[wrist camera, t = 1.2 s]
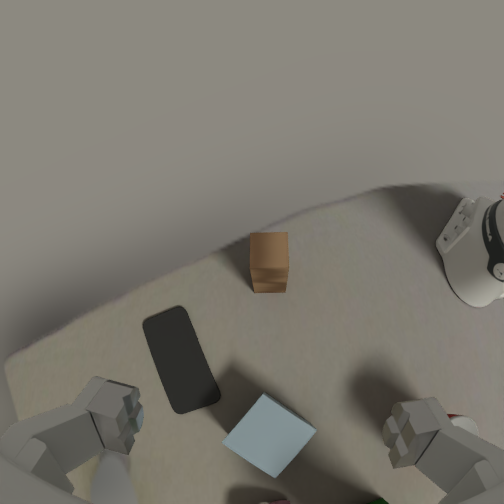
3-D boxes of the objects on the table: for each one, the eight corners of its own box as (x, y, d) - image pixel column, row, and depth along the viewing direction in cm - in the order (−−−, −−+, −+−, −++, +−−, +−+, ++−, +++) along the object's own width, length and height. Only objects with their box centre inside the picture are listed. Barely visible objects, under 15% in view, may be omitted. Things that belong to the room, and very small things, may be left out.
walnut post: (284, 263, 45) (287, 232, 36) (285, 292, 43) (289, 267, 34) (254, 264, 45) (250, 232, 36) (254, 292, 43) (249, 267, 34)
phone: (175, 416, 36) (140, 322, 42) (177, 415, 36) (142, 323, 42) (223, 399, 37) (184, 304, 42) (224, 399, 37) (185, 305, 43)
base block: (263, 391, 37) (263, 393, 32) (310, 423, 35) (317, 430, 29) (228, 433, 35) (221, 442, 29) (274, 465, 33) (275, 478, 27)
